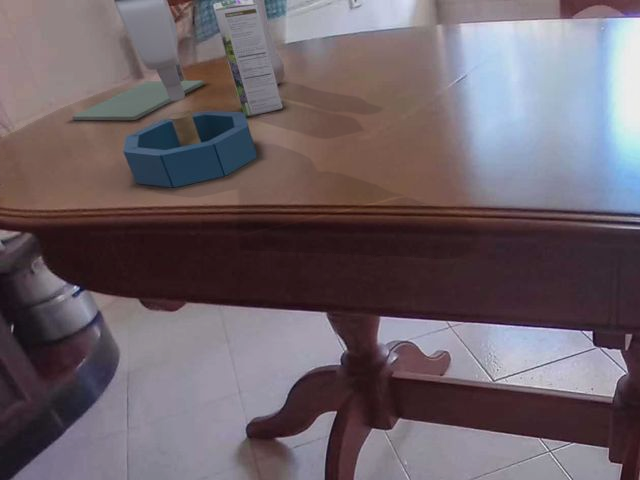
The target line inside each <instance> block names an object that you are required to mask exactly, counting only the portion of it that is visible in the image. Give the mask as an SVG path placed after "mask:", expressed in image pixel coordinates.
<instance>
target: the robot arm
mask: <svg viewBox="0 0 640 480" xmlns="http://www.w3.org/2000/svg"><path fill="white" fill-rule="evenodd" d="M113 4H114V5H115V8H116V10H117V13H118V16H119V17H120V19H121V21H122V24H123V26H124V28H125V30H126V32H127V34H128V36H129V38H130V40H131V42H132V45H133V47H134V49H135V50H136V53H137V55H138V57H139V59H140V60H141V62H142V63H143V65H144V66H145V68H146V70H149V71H155V70H156V72H157V75H158V77H159V79H160V81H162V82H163V84H164V86H165V88H166V90H167V93H168V96H169V98H170V100H171V102H177V101H182V100H184V99H186V98H185V97H186V94H185V93H184V90H183V87H182V84H181V82H180V81H185V80H184V79H185V74H184V71H183V69H182V66H181V63H180V58H179V35H178V34H179V33H178V27H177V25H176V21H175V19H174V15H173V12H172V10H171V7H170V5H169V2H168V0H113Z"/></svg>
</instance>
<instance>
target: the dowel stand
mask: <svg viewBox="0 0 640 480" xmlns="http://www.w3.org/2000/svg"><path fill="white" fill-rule="evenodd" d="M191 114H192V113H191V112H190V111H181V112H177V113H174V114H172V115H171V116H170V118H171V120H172V123H173V126H174V128H175V131H176V134H177V136H178V139H179V142H180V145H181V147H183V146H188V145H192V144H197V143H201V141H200V138H199V135H198V132H197V129H196V127H195V124H194V121H193V118H192V115H191Z"/></svg>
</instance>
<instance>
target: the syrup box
mask: <svg viewBox="0 0 640 480" xmlns="http://www.w3.org/2000/svg"><path fill="white" fill-rule="evenodd" d="M212 7H213V11H214V14H215V17H216V18H215V19H216V21H217V26H218V29H219V34H220V37H221V41H222V45H223V49H224V52H225V57H226V60H227V63H228V67H229V69H230V73H231V77H232V80H233V83H234V87H235V90H236V93H237V97H238V101H239V103H240V107H241V109H242V113H245V116H246V117H252V116H257V115H260V114H261V115H262V114H265V113H270V112H274V111H278V110H283V109H284V106H283V102H282V98H281V94H280V90H279V87H278V84H277V83H276V79H275V75H274V71H273V67H272V63H271V59H270V55H269V51H268V47H267V43H266V39H265V35H264V31H263V27H262V24H261V20H260V16H259V12H258V9H257V5H256V3H255V2H254V0H227V1H223V0H222V1H218V2H216V3H213V4H212Z"/></svg>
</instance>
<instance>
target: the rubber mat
mask: <svg viewBox="0 0 640 480" xmlns="http://www.w3.org/2000/svg"><path fill="white" fill-rule="evenodd" d="M180 82H181V84H182V87H183V90H184V93H185V95H187V94H188V93H191V92H192V91H194V90H196V89H198V88H200V87H202V86H204V85H205V81H204V80H183V81H180ZM171 102H172V101H171V100H170V98H169V96H168V93H167V90H166V88H165V86H164V84H163V82H162V81H161V80H150V81H149V80H147V81H144V82H142V83H140V84H137V85H136V86H134V87H132V88H129V89H128V90H125V91H123V92H121V93H119V94H116V95H115V96H112V97H110V98H108V99H106V100H104V101H101V102H100V103H98V104H95V105H93V106H90V107H89V108H87V109H85V110H83V111H80V112H78V113H75V114H74V115H71V118H72V120H73V121H137V120H138V119H141V118H142V117H144V116H146V115H148V114H150V113H152V112H154V111H156V110H158V109H159V108H162V107H164V106H165V105H168V104H169V103H171Z"/></svg>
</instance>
